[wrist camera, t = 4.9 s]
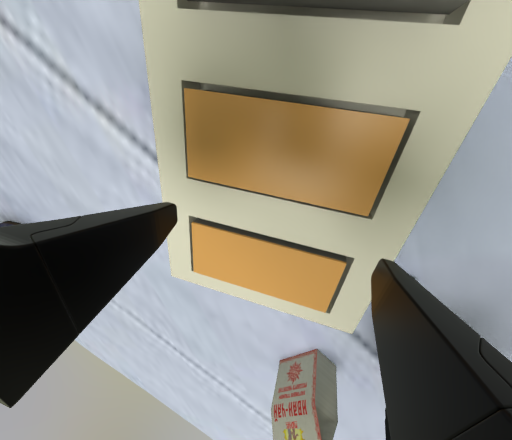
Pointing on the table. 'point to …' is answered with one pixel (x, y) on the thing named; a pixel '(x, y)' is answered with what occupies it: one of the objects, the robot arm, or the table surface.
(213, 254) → the orange cabinet drawer
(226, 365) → the table surface
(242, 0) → the switch
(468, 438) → the robot arm
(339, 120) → the orange drawer
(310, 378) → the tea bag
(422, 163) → the cream board with panels
